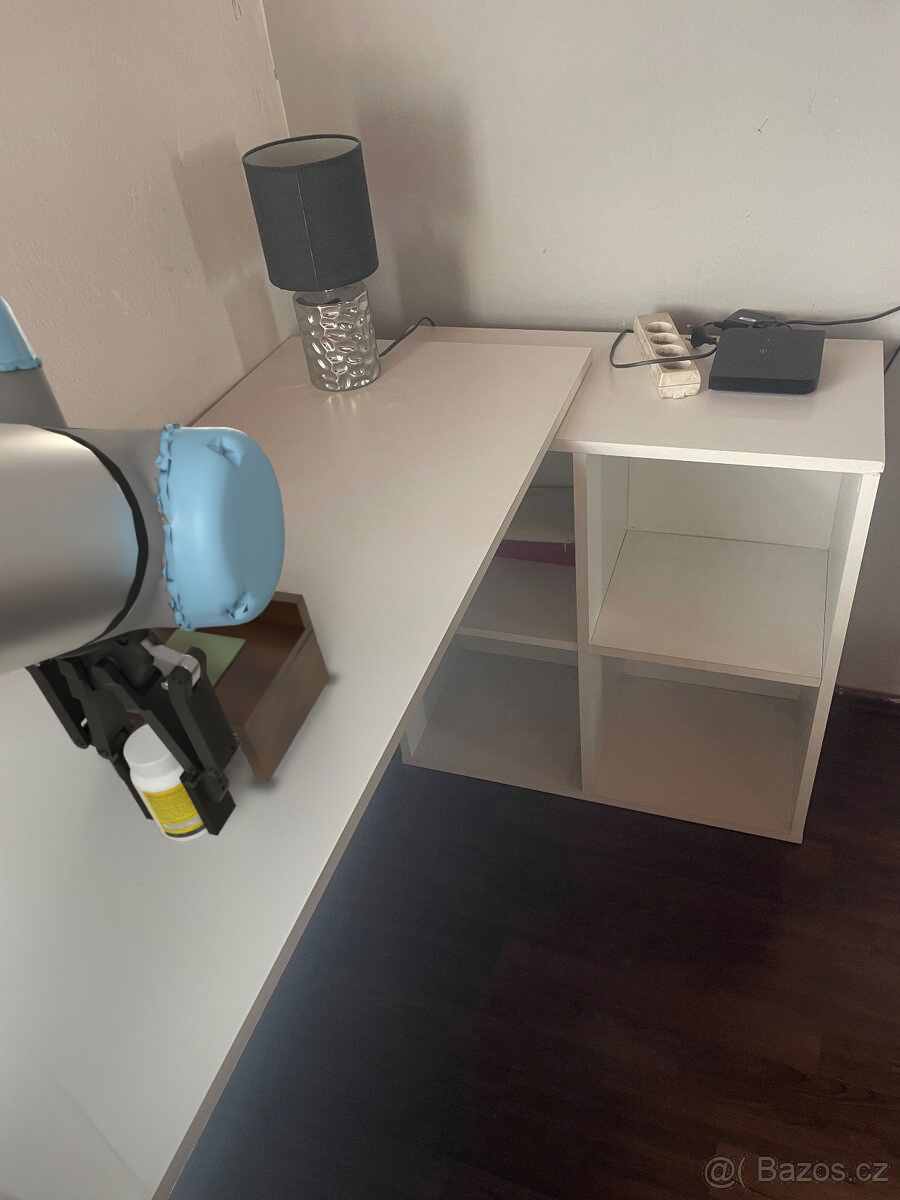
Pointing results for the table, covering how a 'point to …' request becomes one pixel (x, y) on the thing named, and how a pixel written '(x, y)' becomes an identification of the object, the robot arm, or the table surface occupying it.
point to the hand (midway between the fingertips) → (191, 811)
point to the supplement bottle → (161, 786)
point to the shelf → (260, 676)
